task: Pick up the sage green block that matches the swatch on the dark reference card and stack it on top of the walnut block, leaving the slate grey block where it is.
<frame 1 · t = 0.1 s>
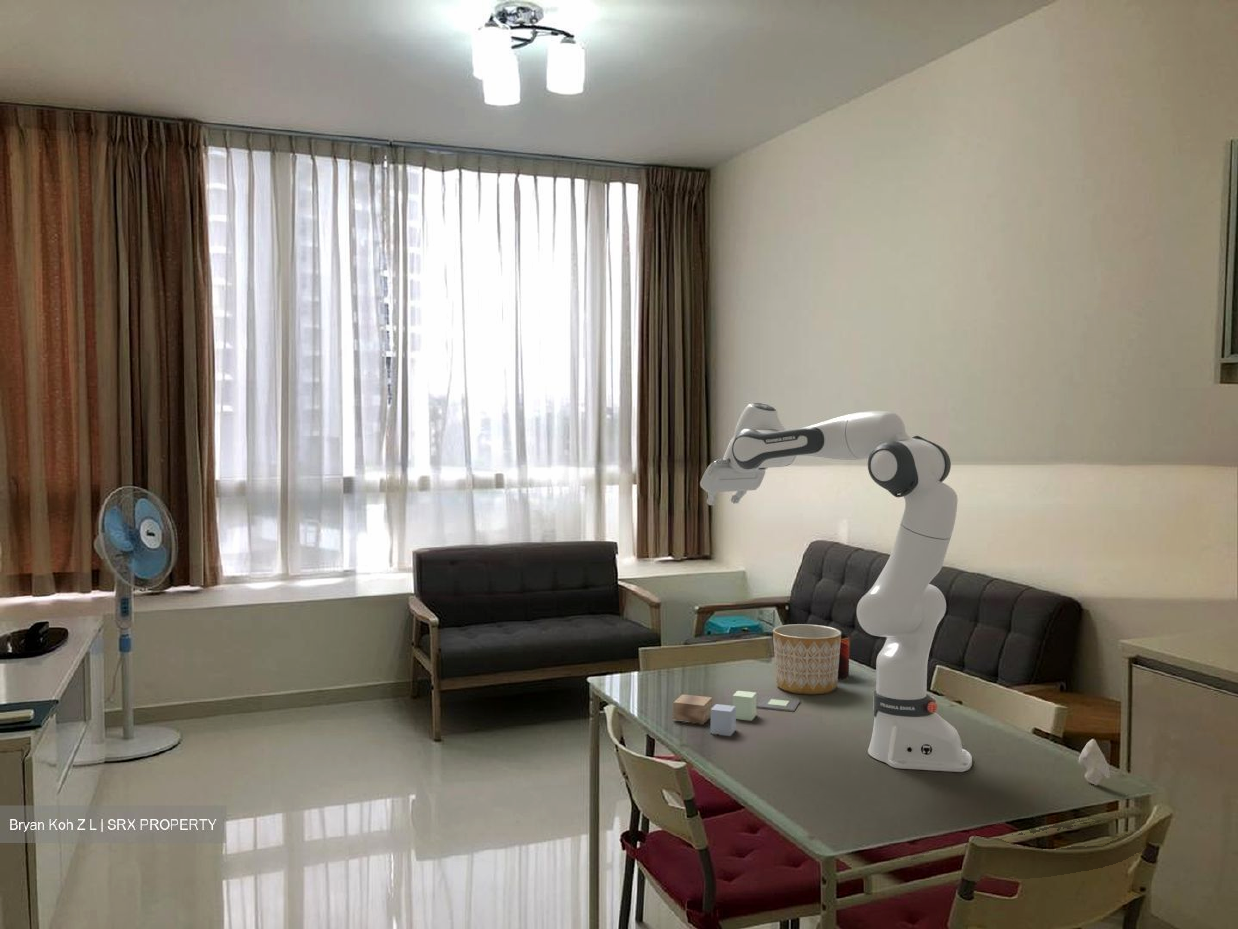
hand: (722, 503, 259), 54 cm above the table, tool tilted 30°, fingers open, 8 cm apart
planter: (806, 688, 276), on the table
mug: (830, 674, 292), on the table
sage block: (744, 717, 248), on the table
slate block: (723, 732, 236), on the table
walnut base: (692, 719, 247), on the table
arrowhead: (1093, 786, 201), on the table
reference card: (778, 704, 259), on the table
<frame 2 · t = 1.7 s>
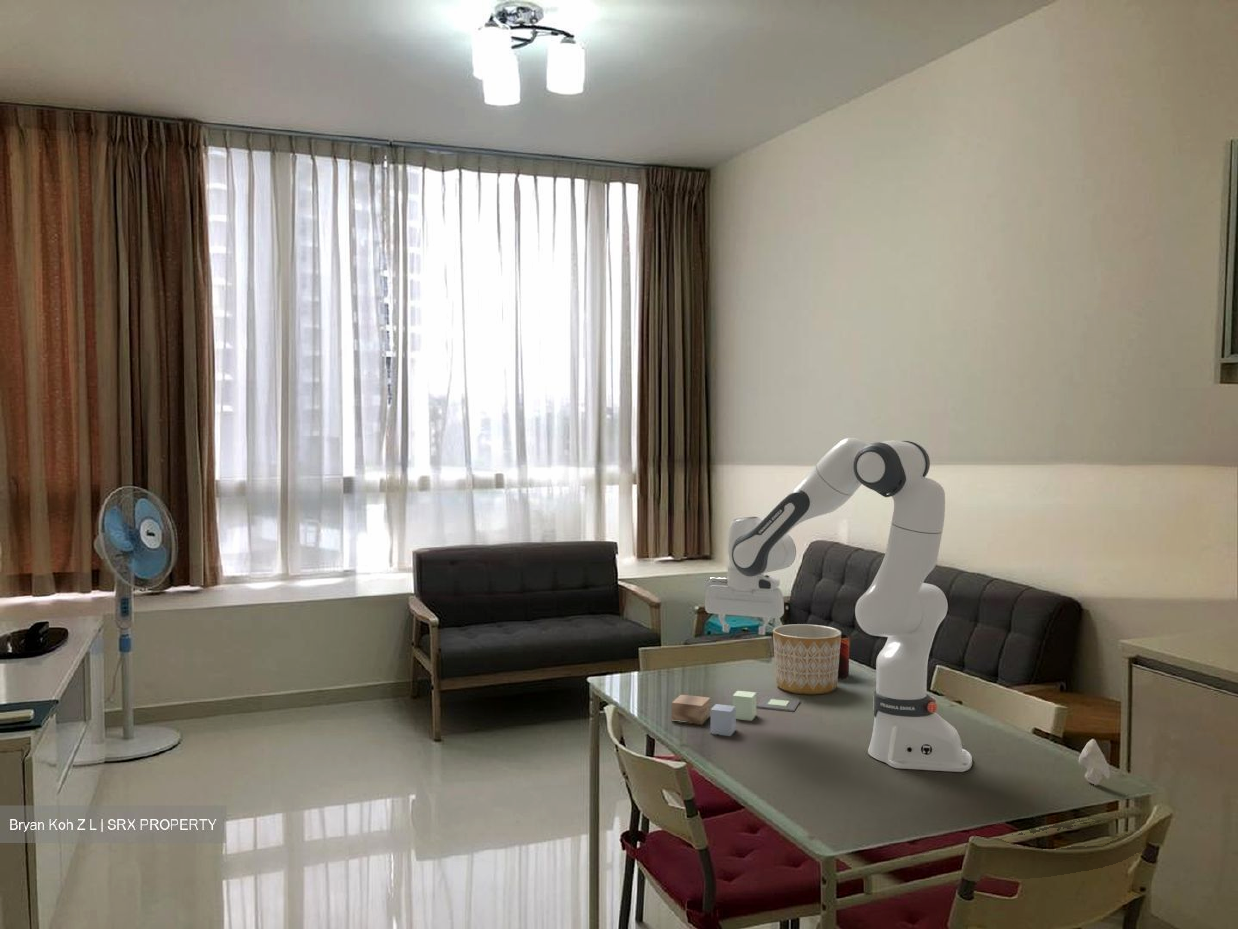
hand: (743, 632, 248), 22 cm above the table, tool pointing down, fingers open, 8 cm apart
nothing on the table moved.
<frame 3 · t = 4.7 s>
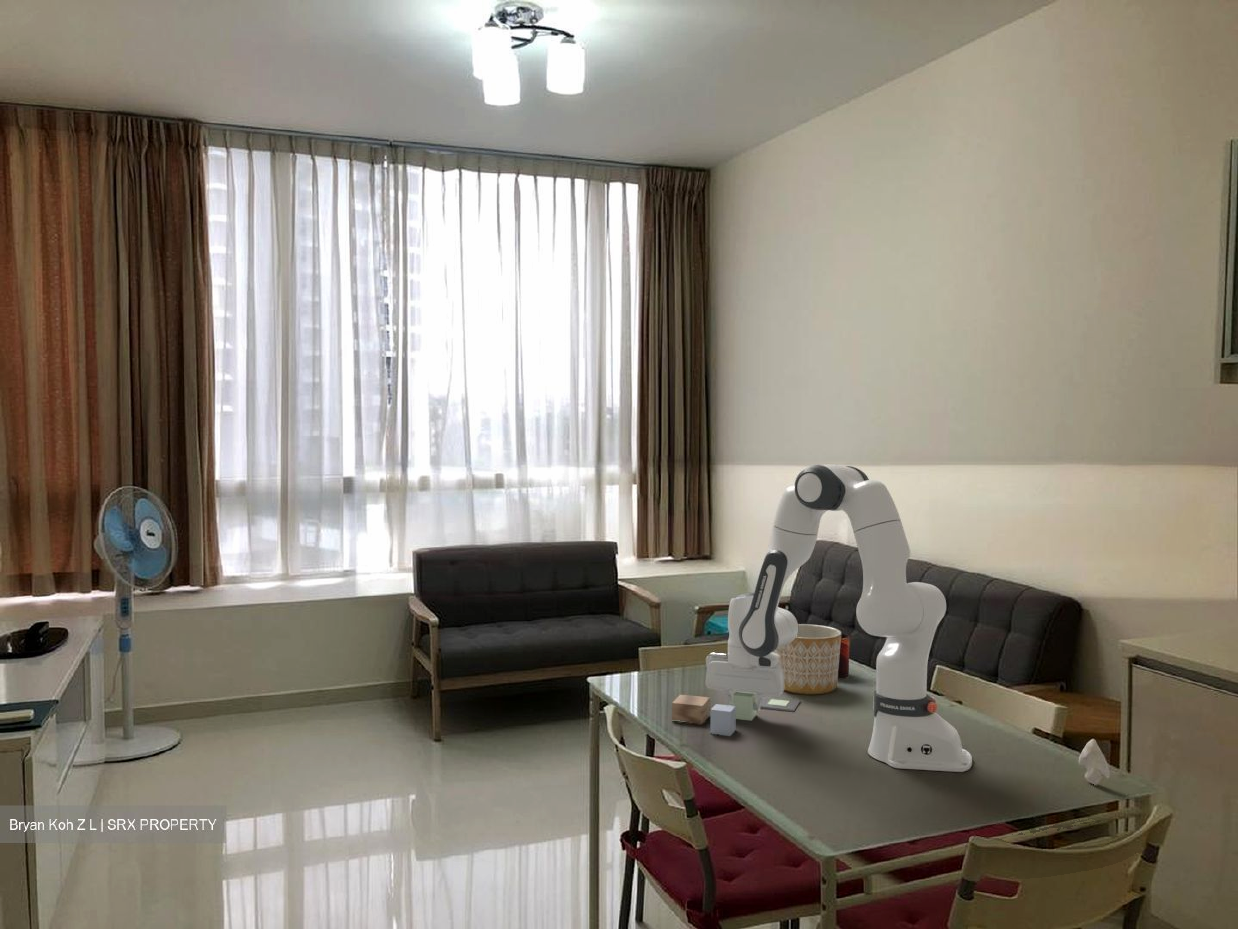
hand: (744, 708, 248), 2 cm above the table, tool pointing down, fingers closed on sage block, 5 cm apart
sage block: (744, 716, 248), on the table, touching gripper
everything else where it was.
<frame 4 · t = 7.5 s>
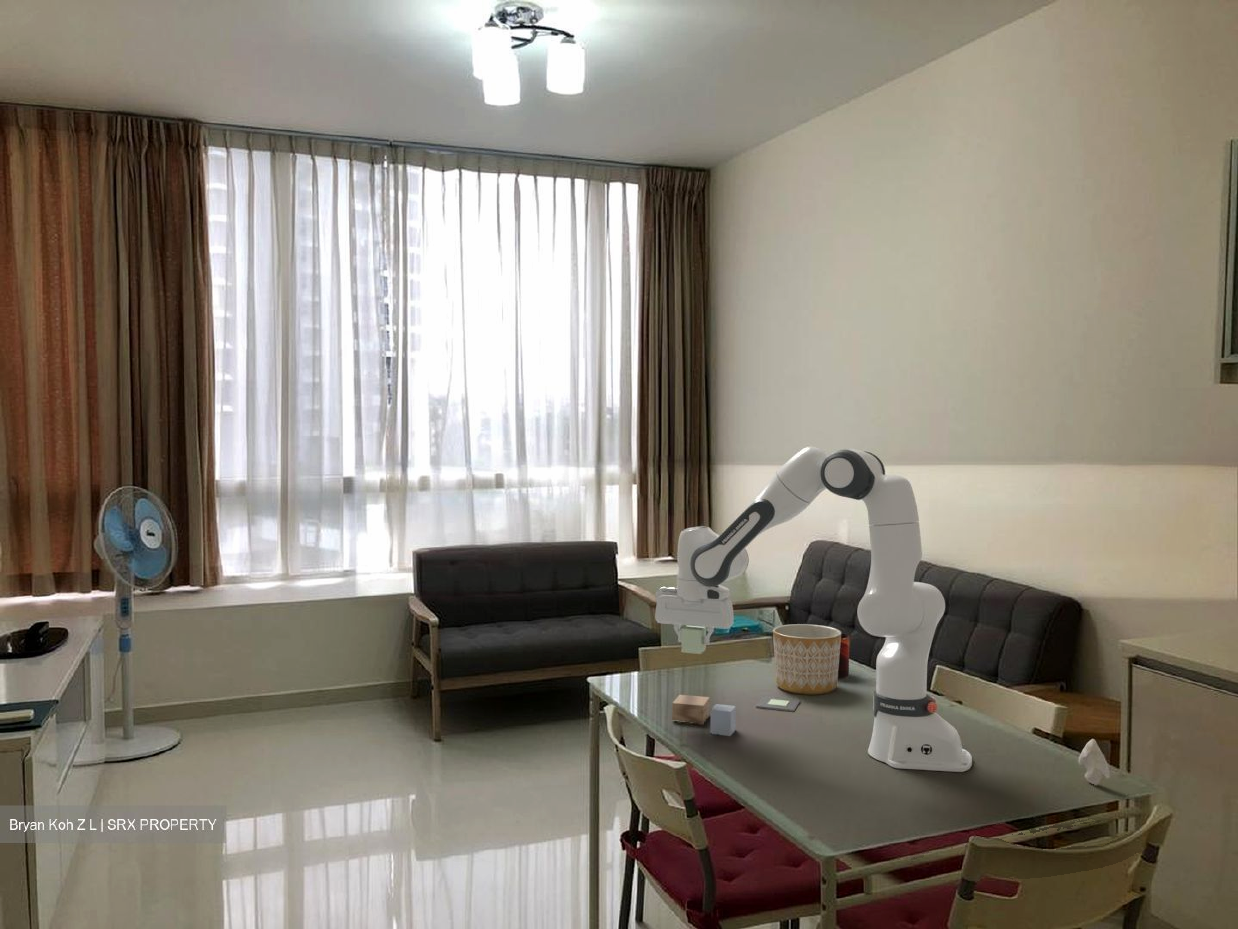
hand: (693, 643, 246), 19 cm above the table, tool pointing down, fingers closed on sage block, 5 cm apart
sage block: (693, 651, 246), point 17 cm above the table, touching gripper
everything else where it was.
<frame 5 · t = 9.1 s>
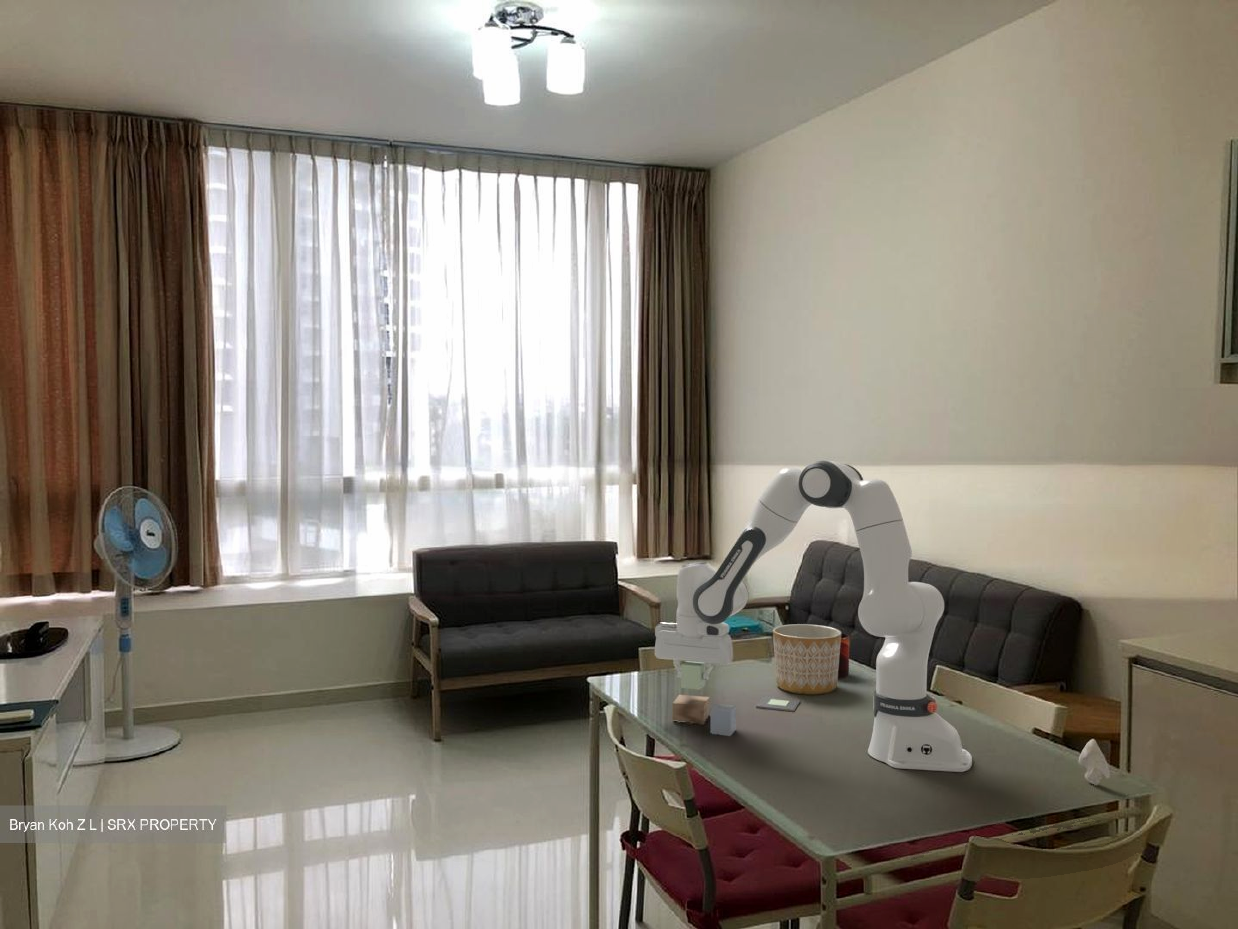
hand: (693, 678, 246), 10 cm above the table, tool pointing down, fingers closed on sage block, 5 cm apart
sage block: (693, 686, 247), point 8 cm above the table, touching gripper
everything else where it was.
when the fingers open (9 cm above the table, at t = 10.3 s): sage block drops 2 cm, resting on walnut base.
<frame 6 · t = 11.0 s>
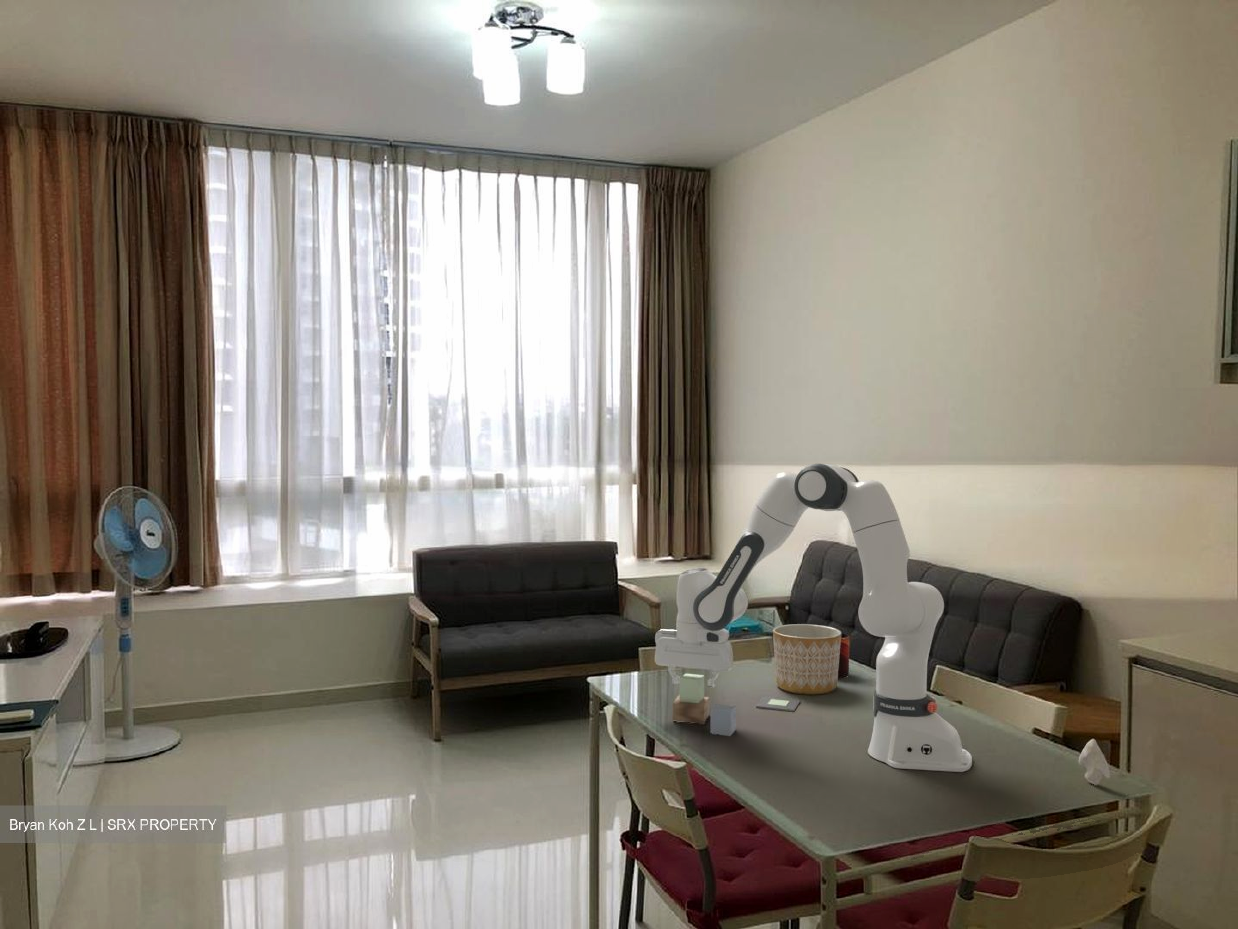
hand: (693, 685, 246), 9 cm above the table, tool pointing down, fingers open, 8 cm apart
sage block: (691, 700, 246), point 5 cm above the table, touching walnut base
walnut base: (690, 719, 246), on the table, touching sage block
everything else where it was.
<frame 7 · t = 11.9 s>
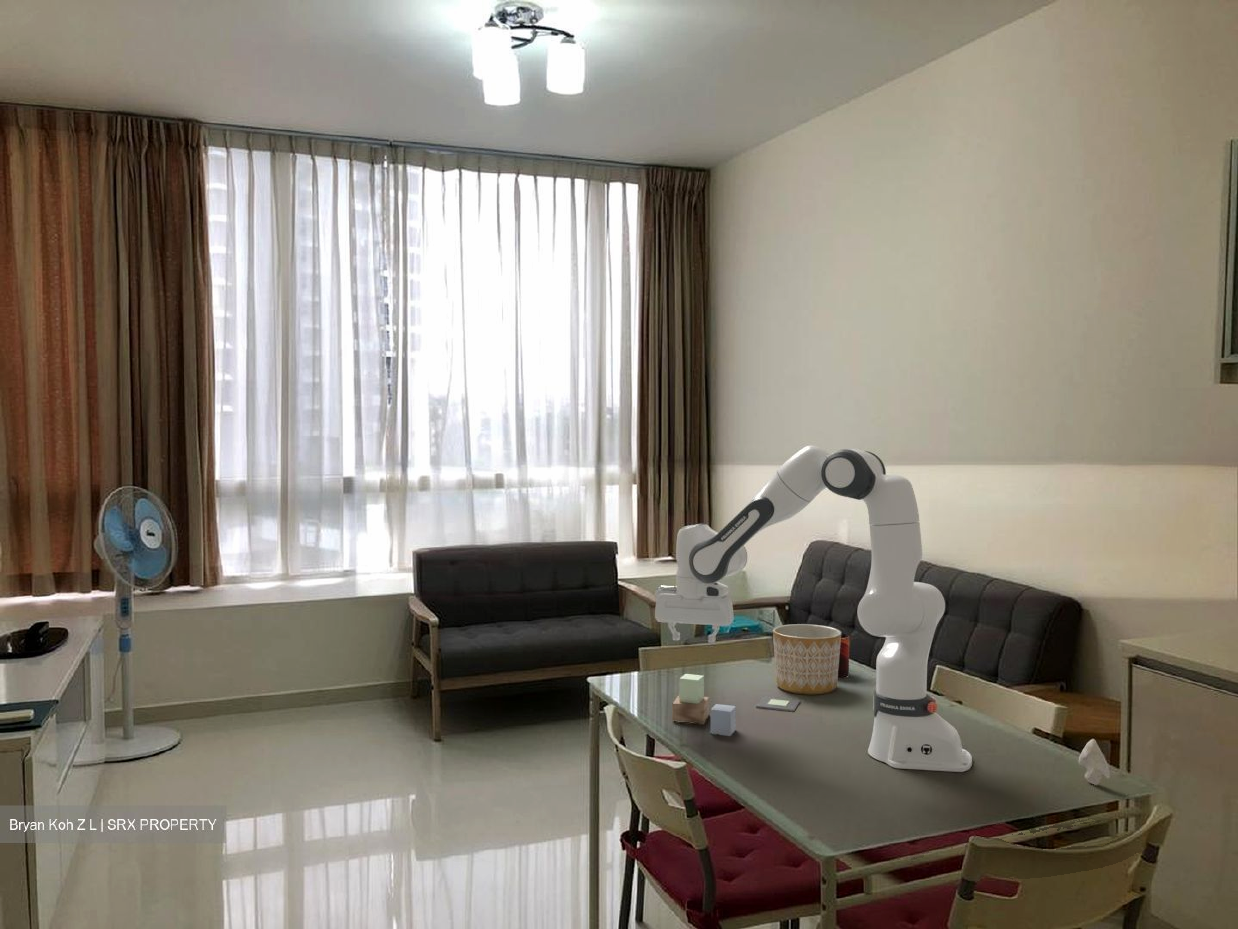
hand: (694, 641, 246), 20 cm above the table, tool pointing down, fingers open, 8 cm apart
nothing on the table moved.
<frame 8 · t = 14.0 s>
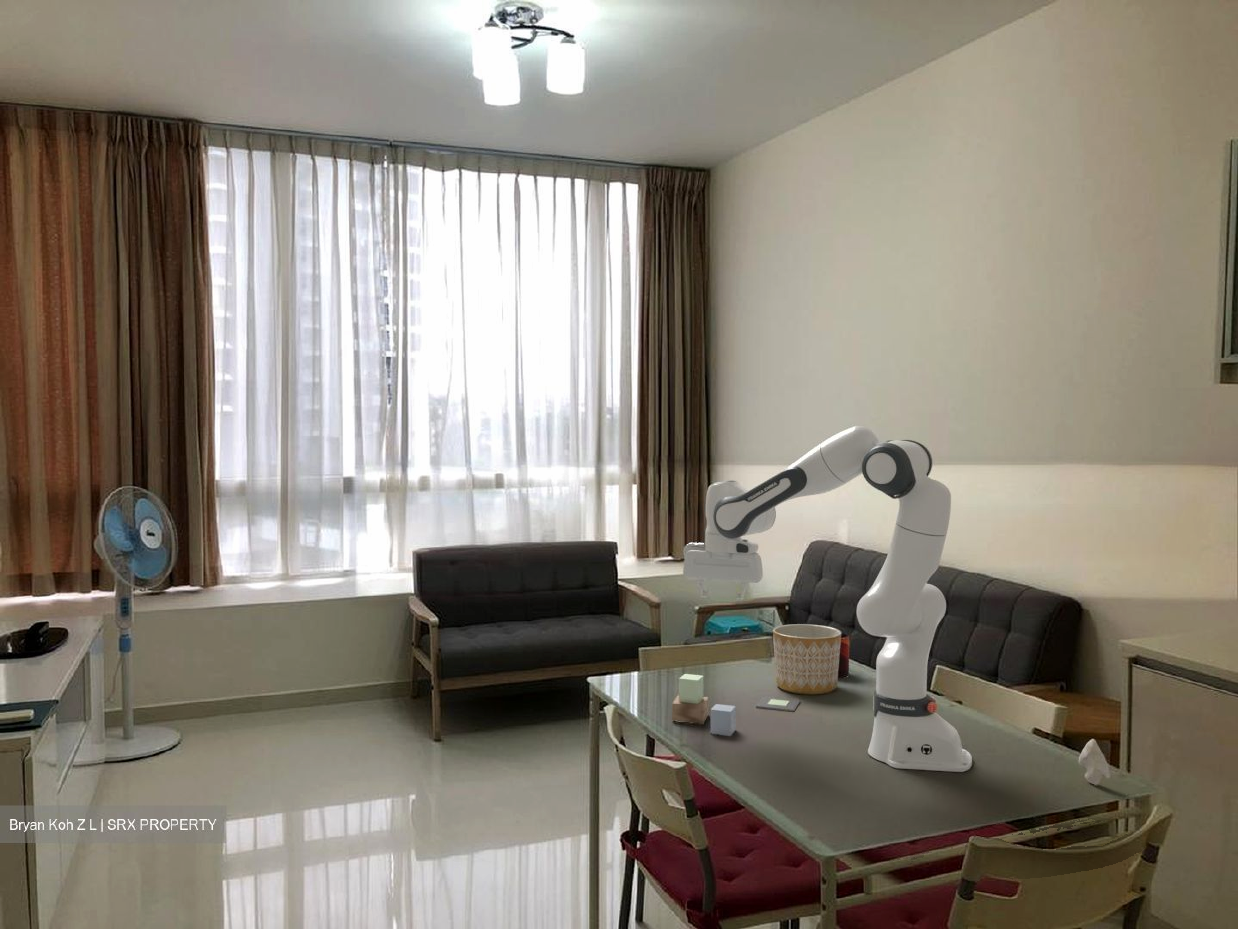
hand: (722, 598, 245), 31 cm above the table, tool pointing down, fingers open, 8 cm apart
at the end: sage block 0.2 cm off-centre on the walnut base, point 5.0 cm above the walnut base's base; sage block tilted 0°; the gripper is holding nothing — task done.
